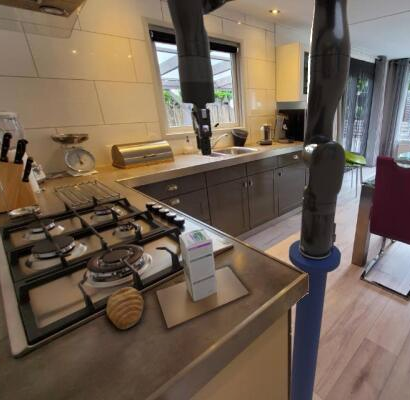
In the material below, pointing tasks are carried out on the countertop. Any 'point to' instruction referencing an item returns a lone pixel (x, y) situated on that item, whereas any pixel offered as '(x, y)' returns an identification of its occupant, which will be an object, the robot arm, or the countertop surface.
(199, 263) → the syrup box
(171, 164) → the countertop surface
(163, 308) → the flat rectangular metal plate
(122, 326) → the pastry
